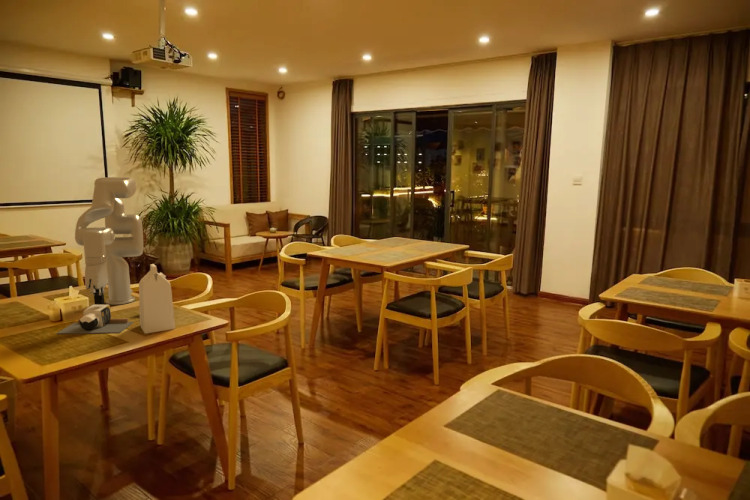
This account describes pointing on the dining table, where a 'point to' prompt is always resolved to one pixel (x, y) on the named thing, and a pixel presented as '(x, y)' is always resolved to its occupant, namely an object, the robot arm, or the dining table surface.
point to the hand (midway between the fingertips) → (99, 303)
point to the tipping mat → (110, 327)
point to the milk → (155, 302)
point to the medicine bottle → (95, 317)
